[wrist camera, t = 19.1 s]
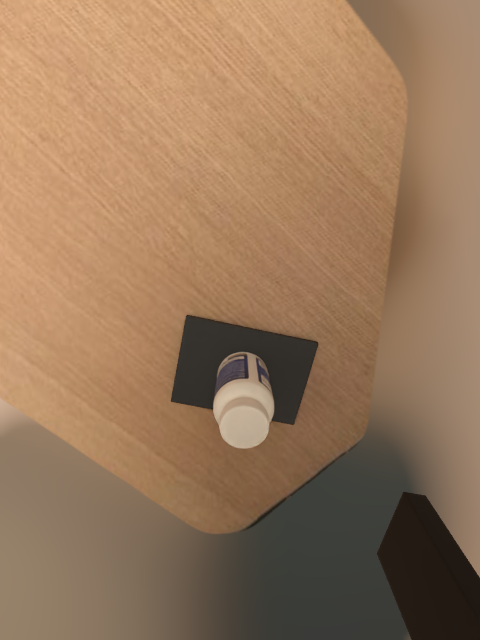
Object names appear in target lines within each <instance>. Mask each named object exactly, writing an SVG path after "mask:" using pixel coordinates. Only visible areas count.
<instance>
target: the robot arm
mask: <svg viewBox="0 0 480 640" xmlns="http://www.w3.org/2000/svg"><path fill="white" fill-rule="evenodd" d="M377 555H378V557H379V560H380V562H381V565H382V567H383V569H384V572H385V575H386V577H387V579H388V582H389V584H390V587H391V589H392V592H393V595H394V597H395V600H396V602H397V604H398V607H399V609H400V612H401V614H402V617H403V619H404V622H405V624H406V627H407V629H408V632H409V634H410V637H411V639H412V640H480V578H479V576H478V575H477V573H476V572H475V570H474V568H473V567H472V565H471V564H470V562H469V561H468V559H467V558H466V556H465V555H464V553H463V552H462V550H461V549H460V547H459V546H458V544H457V543H456V541H455V540H454V538H453V537H452V535H451V534H450V532H449V530H448V529H447V528H446V526H445V524H444V523H443V521H442V520H441V518H440V517H439V515H438V514H437V512H436V511H435V509H434V508H433V506H432V505H431V503H430V502H429V500H428V499H427V497H426V496H425V495H418V494H413V493H407V492H403V494H402V497H401V499H400V501H399V504H398V506H397V508H396V510H395V513H394V515H393V517H392V520H391V522H390V524H389V527H388V529H387V531H386V534H385V536H384V538H383V541H382V543H381V545H380V548H379V550H378V553H377Z"/></svg>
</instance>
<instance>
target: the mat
mask: <svg viewBox="0 0 480 640" xmlns="http://www.w3.org/2000/svg"><path fill="white" fill-rule="evenodd" d="M317 347H318V342H315V341H310V340H306V339H301V338H296V337H291V336H286V335H282V334H277V333H272V332H267V331H262V330H257V329H253V328H248V327H243V326H238V325H233V324H228V323H224V322H219V321H214V320H209V319H204V318H200V317H195V316H190V315H187V316H186V320H185V326H184V331H183V337H182V342H181V348H180V353H179V359H178V365H177V370H176V376H175V381H174V387H173V392H172V398H171V402H176V403H181V404H187V405H192V406H197V407H203V408H208V409H213V404H214V396H215V389H216V381H217V374H218V369H219V366H220V365H221V363H222V362H223V360H224V359H225V358H227V357H228V356H229V355H231V354H234V353H237V352H248V353H251V354H254V355H256V356H258V357H259V358H260V359H261V360H262V361H263V362H264V364H265V365H266V368H267V371H268V374H269V380H270V385H271V390H272V395H273V399H274V414H273V417H272V420H271V421H276V422H282V423H287V424H292V425H294V422H295V419H296V416H297V413H298V409H299V406H300V403H301V399H302V396H303V393H304V390H305V386H306V383H307V380H308V377H309V373H310V370H311V367H312V363H313V360H314V357H315V354H316V350H317Z"/></svg>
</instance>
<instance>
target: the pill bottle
mask: <svg viewBox="0 0 480 640" xmlns="http://www.w3.org/2000/svg"><path fill="white" fill-rule="evenodd" d="M213 412H214V416H215V419H216V421H217V423H218V424H219V429H220V433H221V436H222V438H223V439H224V440H225V441H226V442H227V443H228V444H229V445H231V446H233V447H236V448H241V449H247V448H252V447H255V446H257V445H259V444H260V443H261V442H263V441H264V439H265V438H266V437H267V435H268V432H269V423H270V422H271V420H272V417H273V414H274V399H273V395H272V390H271V385H270V380H269V374H268V371H267V368H266V365H265V364H264V362H263V361H262V360H261V359H260V358H259V357H258V356H256V355H254V354H251V353H248V352H237V353H234V354H231V355H229V356H228V357H227V358H225V359H224V360H223V362H222V363H221V365H220V366H219V369H218V374H217V381H216V389H215V396H214V404H213Z"/></svg>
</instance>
